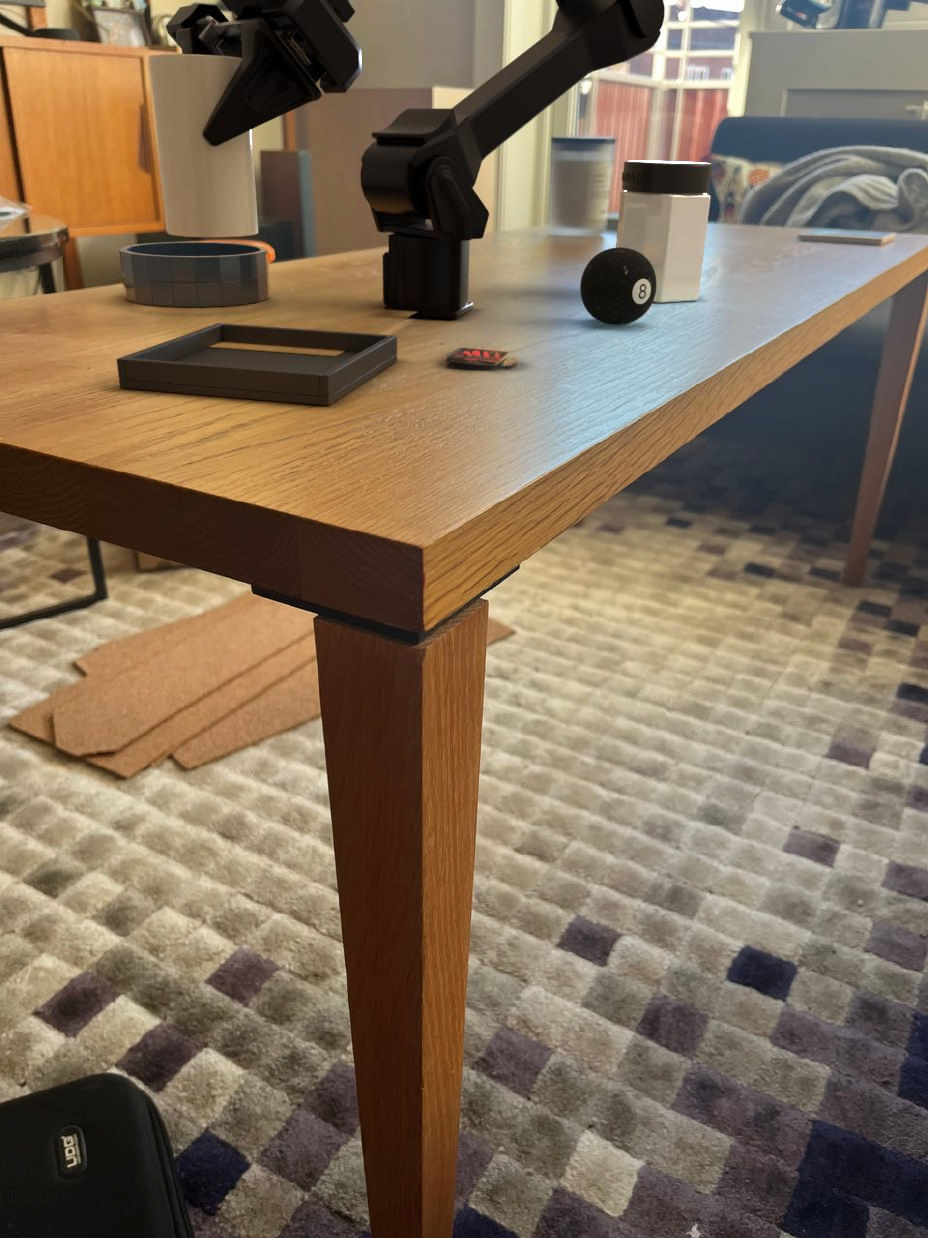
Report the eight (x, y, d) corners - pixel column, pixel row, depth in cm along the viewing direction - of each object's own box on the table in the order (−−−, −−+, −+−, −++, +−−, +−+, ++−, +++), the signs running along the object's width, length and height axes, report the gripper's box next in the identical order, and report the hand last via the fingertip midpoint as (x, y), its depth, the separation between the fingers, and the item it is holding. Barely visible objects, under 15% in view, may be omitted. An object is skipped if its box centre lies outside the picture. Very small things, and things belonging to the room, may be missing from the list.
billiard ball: (610, 333, 79) (617, 252, 76) (563, 321, 84) (568, 244, 81) (666, 327, 82) (675, 249, 79) (619, 316, 86) (625, 242, 84)
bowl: (291, 297, 92) (288, 245, 90) (233, 318, 81) (228, 259, 79) (170, 290, 94) (165, 239, 92) (98, 309, 83) (90, 252, 81)
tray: (397, 361, 67) (397, 335, 67) (328, 406, 56) (327, 375, 55) (219, 347, 70) (217, 322, 69) (119, 387, 59) (115, 358, 58)
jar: (608, 288, 102) (618, 159, 97) (688, 290, 102) (703, 161, 97) (616, 301, 94) (628, 161, 89) (703, 304, 94) (720, 164, 89)
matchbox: (445, 366, 65) (445, 358, 65) (448, 351, 70) (448, 344, 70) (516, 369, 65) (517, 361, 65) (515, 353, 70) (515, 347, 70)
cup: (242, 227, 76) (230, 61, 71) (270, 235, 71) (260, 56, 66) (157, 230, 73) (138, 56, 68) (180, 238, 68) (162, 51, 63)
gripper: (178, -125, 70) (44, 44, 69) (312, -179, 57) (149, 29, 56) (284, 14, 78) (165, 169, 77) (423, -5, 65) (282, 181, 64)
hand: (186, 139), depth 68 cm, fingers closed on cup, 6 cm apart
